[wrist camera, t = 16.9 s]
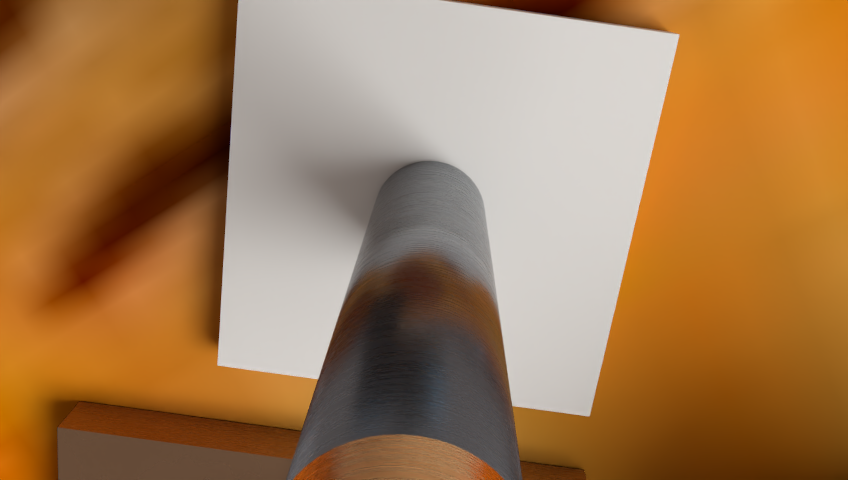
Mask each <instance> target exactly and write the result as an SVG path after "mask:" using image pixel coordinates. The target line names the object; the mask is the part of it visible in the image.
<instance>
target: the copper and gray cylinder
mask: <svg viewBox="0 0 848 480" xmlns="http://www.w3.org/2000/svg"><path fill="white" fill-rule="evenodd" d="M286 480H522V473H521V466H520V459H519V451H518V444H517V437H516V430H515V423H514V416H513V408H512V401H511V394H510V387H509V380H508V373H507V365H506V358H505V351H504V344H503V337H502V330H501V322H500V315H499V308H498V301H497V294H496V287H495V279H494V272H493V265H492V258H491V251H490V244H489V236H488V229H487V222H486V215H485V208H484V202H483V199H482V196H481V194H480V191H479V189H478V188H477V186H476V185H475V183H474V182H473V181H472V180H471V178H470V177H469V176H467V175H466V174H465V173H464V172H462V171H461V170H460V169H458V168H456V167H454V166H452V165H449V164H447V163H443V162H438V161H420V162H415V163H412V164H409V165H406V166H404V167H402V168H400V169H399V170H397V171H396V172H394V173H393V174H392V175H391V176H390V177H389V178H388V179H387V180H386V181H385V183H384V184H383V185H382V187H381V189H380V191H379V193H378V195H377V198H376V201H375V204H374V207H373V210H372V213H371V217H370V220H369V223H368V226H367V229H366V232H365V235H364V238H363V241H362V245H361V248H360V251H359V254H358V257H357V260H356V263H355V266H354V269H353V273H352V276H351V279H350V282H349V285H348V288H347V291H346V294H345V297H344V301H343V304H342V307H341V310H340V313H339V316H338V319H337V322H336V325H335V329H334V332H333V335H332V338H331V341H330V344H329V347H328V350H327V353H326V357H325V360H324V363H323V366H322V369H321V372H320V375H319V378H318V381H317V385H316V388H315V391H314V394H313V397H312V400H311V403H310V406H309V409H308V413H307V416H306V419H305V422H304V425H303V428H302V431H301V434H300V437H299V441H298V444H297V447H296V450H295V453H294V456H293V459H292V462H291V465H290V469H289V472H288V475H287V478H286Z"/></svg>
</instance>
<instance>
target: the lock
mask: <svg viewBox="0 0 848 480" xmlns="http://www.w3.org/2000/svg"><path fill="white" fill-rule="evenodd" d="M300 434H301V431H295V430H287V429H280V428H273V427H266V426H258V425H251V424H244V423H236V422H229V421H222V420H214V419H207V418H200V417H192V416H185V415H178V414H170V413H163V412H156V411H148V410H141V409H134V408H126V407H119V406H112V405H104V404H97V403H90V402H82V401H79V403H78V404H77V405H76V406H75V407H74V408H73V410H72V411H71V412H70V413H69V414H68V415H67V417H66V418H65V419H64V420H63V421H62V422H61V424H60V425H59V426H58V427H57V437H58V480H286V478H287V475H288V472H289V469H290V465H291V462H292V459H293V456H294V453H295V450H296V447H297V444H298V441H299V437H300ZM520 466H521V473H522V480H586V476H585V472H584V470H581V469H573V468H566V467H559V466H551V465H544V464H537V463H529V462H522V461H520Z"/></svg>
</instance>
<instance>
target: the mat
mask: <svg viewBox="0 0 848 480" xmlns="http://www.w3.org/2000/svg"><path fill="white" fill-rule="evenodd" d="M678 39H679V34H676V33H672V32H669V31H662V30H655V29H648V28H641V27H634V26H627V25H620V24H613V23H606V22H599V21H592V20H585V19H578V18H571V17H564V16H557V15H551V14H544V13H537V12H530V11H523V10H516V9H509V8H502V7H495V6H488V5H481V4H474V3H467V2H460V1H453V0H238V14H237V32H236V49H235V67H234V84H233V102H232V120H231V137H230V155H229V172H228V190H227V208H226V225H225V243H224V260H223V278H222V296H221V313H220V331H219V348H218V366H226V367H233V368H240V369H247V370H255V371H262V372H269V373H277V374H284V375H291V376H298V377H306V378H313V379H318V378H319V375H320V372H321V369H322V366H323V363H324V360H325V357H326V353H327V350H328V347H329V344H330V341H331V338H332V335H333V332H334V329H335V325H336V322H337V319H338V316H339V313H340V310H341V307H342V304H343V301H344V297H345V294H346V291H347V288H348V285H349V282H350V279H351V276H352V273H353V269H354V266H355V263H356V260H357V257H358V254H359V251H360V248H361V245H362V241H363V238H364V235H365V232H366V229H367V226H368V223H369V220H370V217H371V213H372V210H373V207H374V204H375V201H376V198H377V195H378V193H379V191H380V189H381V187H382V185H383V184H384V183H385V181H386V180H387V179H388V178H389V177H390V176H391V175H392V174H393V173H394V172H396V171H397V170H399V169H400V168H402V167H404V166H406V165H409V164H412V163H415V162H420V161H438V162H443V163H447V164H449V165H452V166H454V167H456V168H458V169H460V170H461V171H462V172H464V173H465V174H466V175H467V176H469V177H470V178H471V180H472V181H473V182H474V183H475V185H476V186H477V188H478V189H479V191H480V194H481V196H482V199H483V202H484V208H485V215H486V222H487V229H488V236H489V244H490V251H491V258H492V265H493V272H494V279H495V287H496V294H497V301H498V308H499V315H500V322H501V330H502V337H503V344H504V351H505V358H506V365H507V373H508V380H509V387H510V394H511V401H512V406H517V407H524V408H531V409H539V410H546V411H553V412H561V413H568V414H575V415H582V416H590V412H591V408H592V404H593V400H594V395H595V391H596V387H597V383H598V378H599V374H600V370H601V366H602V361H603V357H604V353H605V349H606V344H607V340H608V336H609V332H610V327H611V323H612V319H613V315H614V310H615V306H616V302H617V298H618V293H619V289H620V285H621V281H622V276H623V272H624V268H625V264H626V259H627V255H628V251H629V247H630V243H631V238H632V234H633V230H634V226H635V221H636V217H637V213H638V209H639V204H640V200H641V196H642V192H643V187H644V183H645V179H646V175H647V170H648V166H649V162H650V158H651V153H652V149H653V145H654V141H655V136H656V132H657V128H658V124H659V119H660V115H661V111H662V107H663V102H664V98H665V94H666V90H667V85H668V81H669V77H670V73H671V68H672V64H673V60H674V56H675V51H676V47H677V43H678Z"/></svg>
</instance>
